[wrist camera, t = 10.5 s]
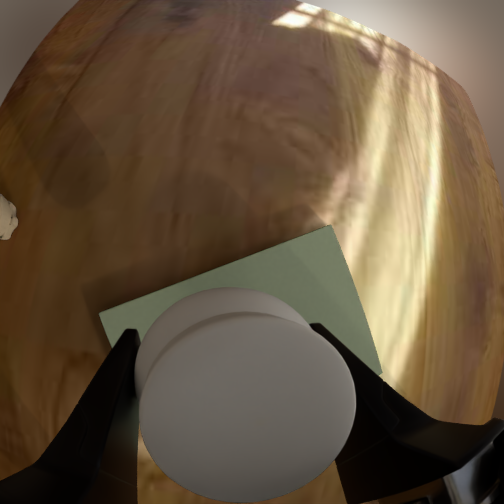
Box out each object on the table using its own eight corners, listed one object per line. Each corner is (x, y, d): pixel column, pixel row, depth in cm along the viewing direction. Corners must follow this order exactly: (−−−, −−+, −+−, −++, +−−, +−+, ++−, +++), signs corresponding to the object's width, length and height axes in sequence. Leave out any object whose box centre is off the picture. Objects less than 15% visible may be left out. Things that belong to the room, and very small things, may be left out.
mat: (181, 467, 17) (181, 471, 16) (100, 312, 17) (98, 313, 17) (378, 371, 21) (383, 372, 21) (327, 225, 22) (331, 224, 22)
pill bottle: (283, 347, 16) (417, 402, 5) (208, 410, 15) (243, 547, 4) (219, 271, 16) (278, 213, 5) (139, 335, 15) (49, 398, 4)
